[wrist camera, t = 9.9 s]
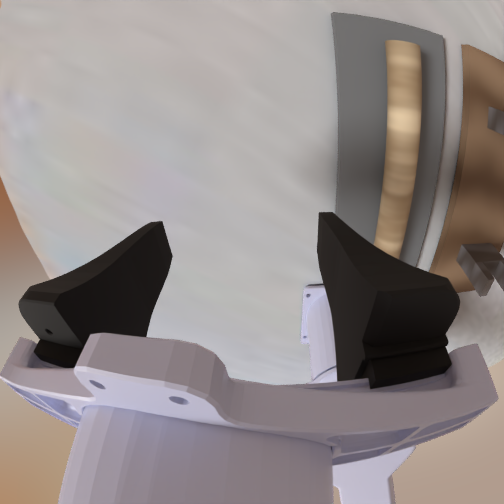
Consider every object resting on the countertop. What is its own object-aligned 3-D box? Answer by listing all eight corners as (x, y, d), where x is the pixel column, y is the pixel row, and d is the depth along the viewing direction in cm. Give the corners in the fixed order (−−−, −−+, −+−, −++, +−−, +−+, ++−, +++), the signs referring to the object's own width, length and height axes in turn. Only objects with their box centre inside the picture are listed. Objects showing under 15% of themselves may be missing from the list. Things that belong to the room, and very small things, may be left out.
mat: (403, 292, 26) (405, 296, 26) (326, 298, 27) (327, 303, 27) (438, 36, 11) (442, 35, 11) (331, 14, 12) (332, 12, 12)
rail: (384, 285, 25) (389, 303, 23) (361, 286, 25) (365, 304, 23) (411, 48, 12) (426, 46, 10) (380, 42, 13) (391, 38, 11)
